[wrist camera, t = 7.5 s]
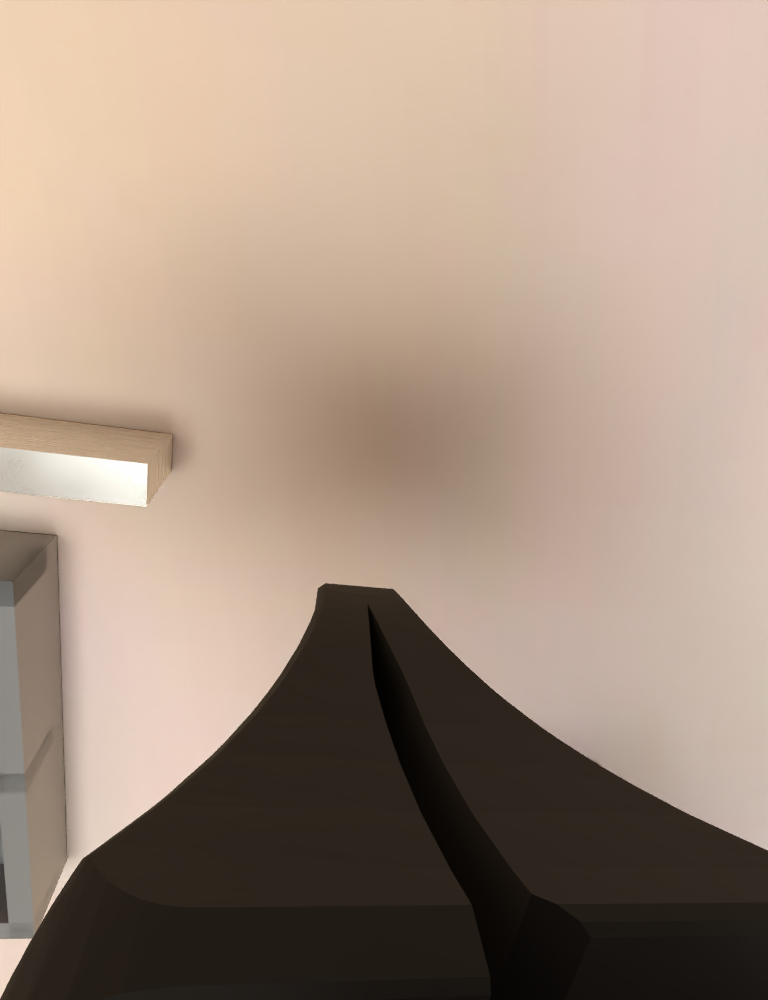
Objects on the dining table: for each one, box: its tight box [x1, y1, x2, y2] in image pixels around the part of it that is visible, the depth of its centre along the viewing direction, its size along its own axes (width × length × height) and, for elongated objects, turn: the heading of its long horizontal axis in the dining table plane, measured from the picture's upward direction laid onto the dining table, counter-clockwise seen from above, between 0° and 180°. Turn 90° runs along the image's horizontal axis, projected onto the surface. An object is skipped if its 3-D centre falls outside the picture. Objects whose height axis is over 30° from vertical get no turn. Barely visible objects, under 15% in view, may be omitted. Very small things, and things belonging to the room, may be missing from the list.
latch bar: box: [0, 413, 172, 507], centre depth 16 cm, size 6×1×3 cm, turn 81°
